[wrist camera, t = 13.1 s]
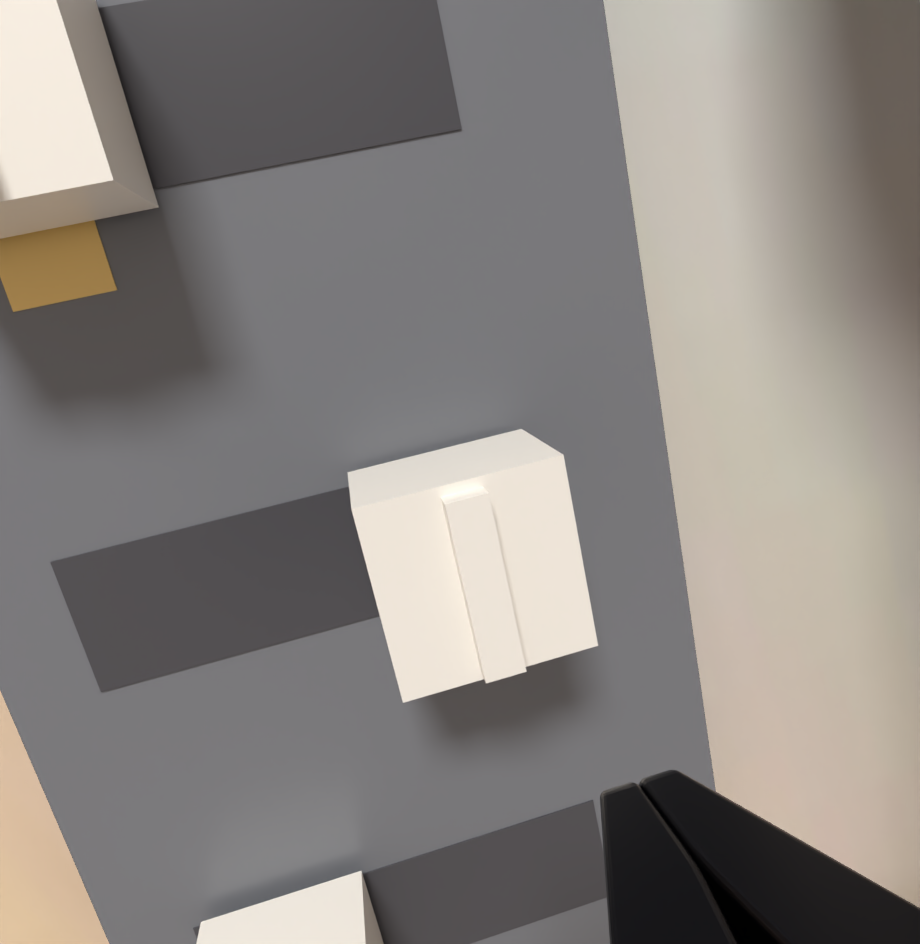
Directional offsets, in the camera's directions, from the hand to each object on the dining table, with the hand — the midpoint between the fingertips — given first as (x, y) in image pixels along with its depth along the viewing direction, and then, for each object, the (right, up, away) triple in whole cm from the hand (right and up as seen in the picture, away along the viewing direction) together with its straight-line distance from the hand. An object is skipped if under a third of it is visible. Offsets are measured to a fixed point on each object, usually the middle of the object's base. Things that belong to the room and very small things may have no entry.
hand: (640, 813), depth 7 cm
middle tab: (-2, +2, +9) cm, 10 cm away
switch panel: (-5, +2, +11) cm, 12 cm away
